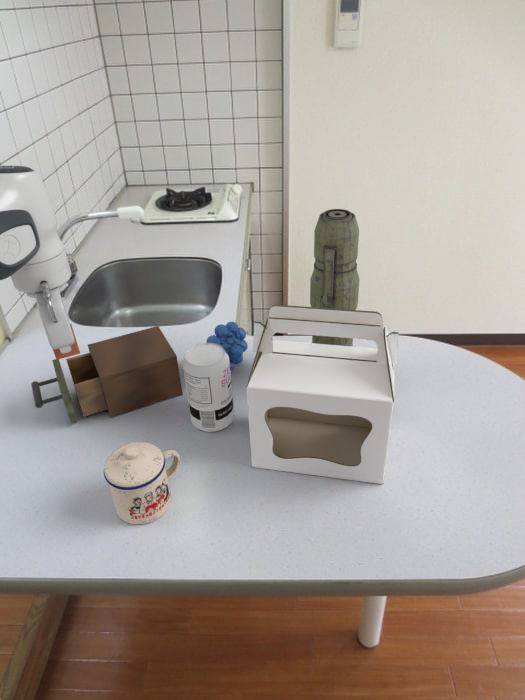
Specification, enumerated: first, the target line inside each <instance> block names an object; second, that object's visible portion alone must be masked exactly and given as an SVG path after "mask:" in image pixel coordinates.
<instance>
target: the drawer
mask: <svg viewBox="0 0 525 700" xmlns="http://www.w3.org/2000/svg"><path fill="white" fill-rule="evenodd" d="M65 360H66V363H67V366H68V370H69V373H70V377H71V380H72V383H73V388H74V390H75V394H76V396H77V400H78V404H79V406H80V410H81V413H82V416H83V417H84V418H85V417H88V416H91V415H94V414H97V413H101V412H104V411H106V410H107V411H108V407H107V403H106V399H105V396H104V392H103V388H102V385H101V381H100V378H99V375H98V372H97V370H96V367H95V364H94V362H93V359H92V356H91V354H90V352H87V353H83V354H78V355H74V356H71V357H67V358H66V359H65ZM51 361H52V365H53V369H54V372H55V377H53V378H50V379H46V380H43V381H39V382H38V381H36V380H34V381H33V382H31V384H30V386H31V391H32V397H33V402H34V406H35V408H37V409H40V408H42V407H43V406H44V405H46V404H49V403H52V402H56V401H59V400H62V401H63V404H64V407H65V410H66V413H67V417H68V419H69V422H70V425H75V424H78V419H77V415H76V412H75V408H74V404H73V400H72V397H71V394H70V390H69V386H68V384H67V380H66V378H65V375H64V371H63V368H62V365H61V361H60V359H59V360H56V358H55V359H52V360H51ZM53 383H57V385H58V388H59V391H60V394H58V395H55V396H52V397H49V398H48V397H47V398H45V399H43V396H42V391H41V387H44V386H47V385H50V384H53Z"/></svg>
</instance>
